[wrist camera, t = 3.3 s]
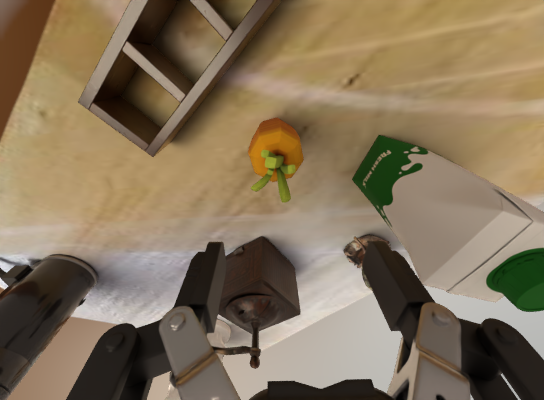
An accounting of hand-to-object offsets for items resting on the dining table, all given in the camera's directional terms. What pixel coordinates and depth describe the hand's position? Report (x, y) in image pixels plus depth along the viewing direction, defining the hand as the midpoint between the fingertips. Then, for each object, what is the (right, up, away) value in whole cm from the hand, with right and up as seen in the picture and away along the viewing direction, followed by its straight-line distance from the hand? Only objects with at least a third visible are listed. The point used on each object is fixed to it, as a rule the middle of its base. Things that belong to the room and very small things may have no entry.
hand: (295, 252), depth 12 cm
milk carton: (+15, +8, +19) cm, 25 cm away
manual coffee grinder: (-6, -10, +30) cm, 32 cm away
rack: (-10, +19, +11) cm, 24 cm away
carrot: (-1, +12, +16) cm, 20 cm away
